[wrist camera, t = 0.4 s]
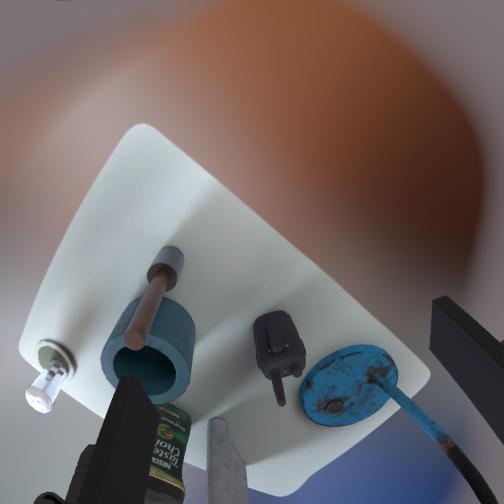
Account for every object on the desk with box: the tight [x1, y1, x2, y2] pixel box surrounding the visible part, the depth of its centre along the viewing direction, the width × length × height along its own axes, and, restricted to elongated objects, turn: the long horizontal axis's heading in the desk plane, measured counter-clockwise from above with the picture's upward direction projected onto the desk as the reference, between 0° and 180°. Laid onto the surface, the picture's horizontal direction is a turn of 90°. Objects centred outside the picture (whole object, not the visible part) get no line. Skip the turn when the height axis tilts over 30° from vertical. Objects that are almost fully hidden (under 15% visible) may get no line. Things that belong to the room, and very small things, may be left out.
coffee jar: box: [144, 403, 191, 504], centre depth 37 cm, size 10×8×19 cm
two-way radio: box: [253, 311, 306, 407], centre depth 35 cm, size 6×4×15 cm
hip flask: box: [206, 418, 249, 504], centre depth 40 cm, size 16×4×20 cm, turn 13°
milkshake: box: [26, 360, 67, 413], centre depth 37 cm, size 5×5×10 cm
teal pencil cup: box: [101, 297, 196, 404], centre depth 37 cm, size 10×10×9 cm
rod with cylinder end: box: [123, 246, 184, 350], centre depth 30 cm, size 3×3×18 cm
